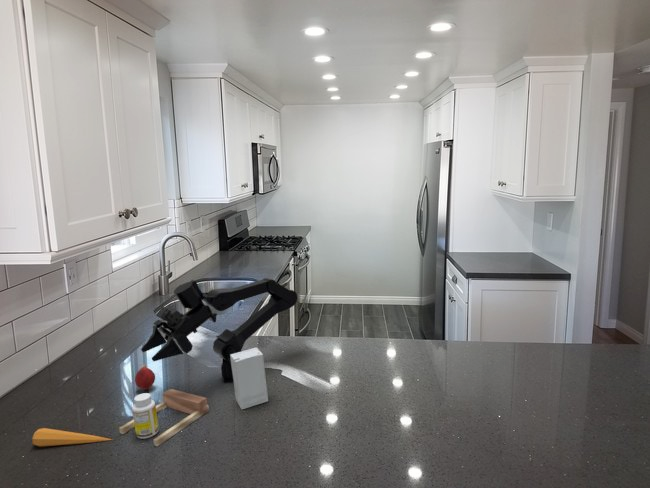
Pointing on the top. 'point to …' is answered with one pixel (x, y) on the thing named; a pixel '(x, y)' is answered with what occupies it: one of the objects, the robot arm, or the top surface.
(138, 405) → the supplement bottle
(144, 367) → the red round piece
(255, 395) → the skincare box
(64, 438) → the carrot
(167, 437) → the rail track
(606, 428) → the top surface
